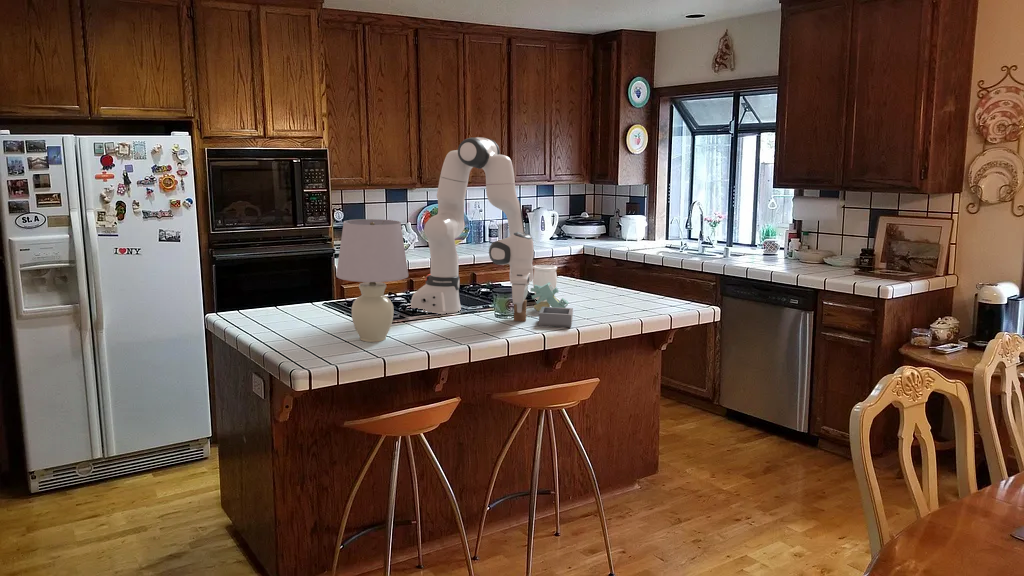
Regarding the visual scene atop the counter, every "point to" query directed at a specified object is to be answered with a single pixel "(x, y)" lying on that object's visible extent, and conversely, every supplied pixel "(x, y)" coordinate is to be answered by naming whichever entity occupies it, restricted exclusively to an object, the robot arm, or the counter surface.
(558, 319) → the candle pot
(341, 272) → the lamp
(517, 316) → the tan wooden brick
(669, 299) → the counter surface
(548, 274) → the jar
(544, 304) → the toy
